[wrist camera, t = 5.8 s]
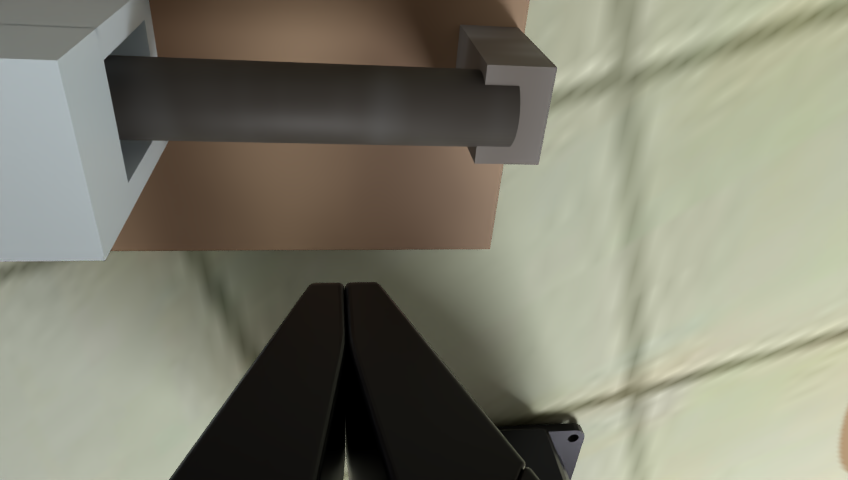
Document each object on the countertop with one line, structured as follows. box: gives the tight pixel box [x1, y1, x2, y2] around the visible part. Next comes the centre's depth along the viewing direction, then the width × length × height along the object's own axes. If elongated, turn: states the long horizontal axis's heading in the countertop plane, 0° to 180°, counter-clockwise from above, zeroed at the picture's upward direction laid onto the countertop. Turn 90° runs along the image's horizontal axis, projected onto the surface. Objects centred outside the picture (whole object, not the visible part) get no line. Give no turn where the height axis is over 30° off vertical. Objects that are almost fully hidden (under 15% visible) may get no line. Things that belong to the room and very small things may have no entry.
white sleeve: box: [0, 0, 168, 261], centre depth 13 cm, size 4×4×6 cm
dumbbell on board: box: [104, 0, 557, 251], centre depth 14 cm, size 18×12×6 cm, turn 85°
